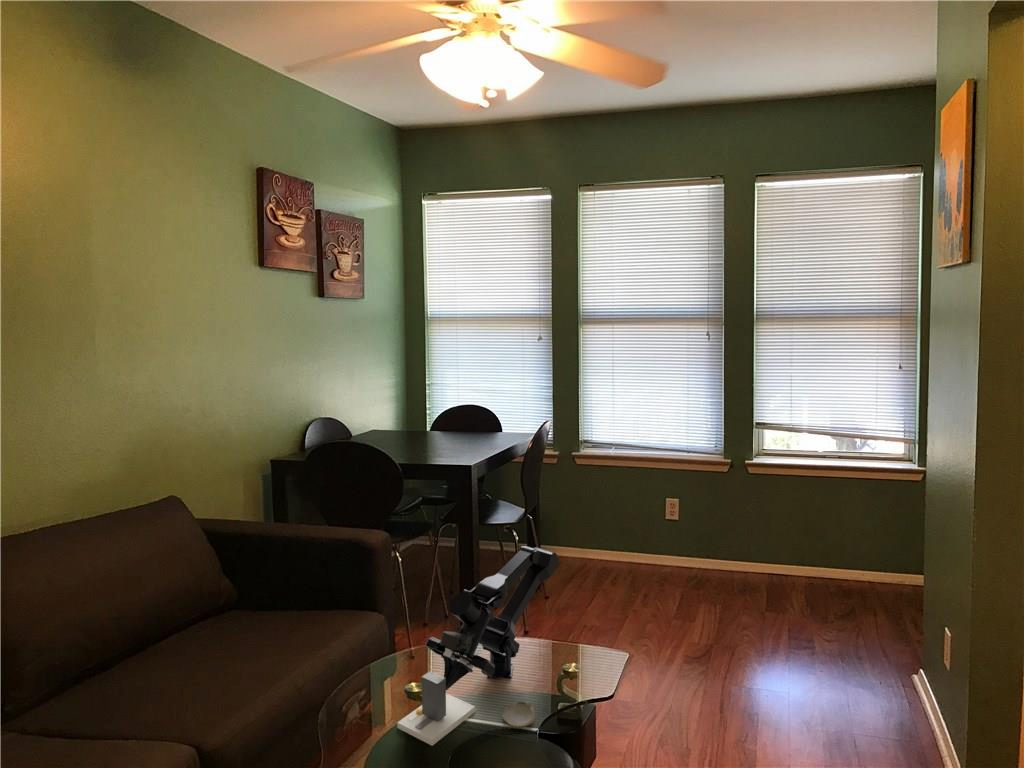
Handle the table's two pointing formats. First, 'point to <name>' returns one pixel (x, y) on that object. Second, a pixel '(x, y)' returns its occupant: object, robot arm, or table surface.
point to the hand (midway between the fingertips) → (444, 689)
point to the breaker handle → (434, 696)
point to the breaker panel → (434, 729)
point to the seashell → (519, 714)
